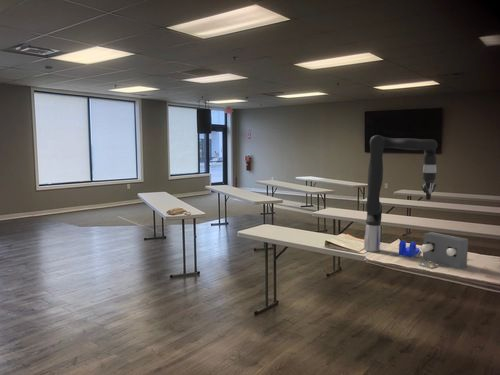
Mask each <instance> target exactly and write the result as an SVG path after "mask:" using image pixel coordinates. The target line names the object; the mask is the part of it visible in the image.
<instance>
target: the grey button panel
mask: <svg viewBox="0 0 500 375" xmlns="http://www.w3.org/2000/svg"><path fill="white" fill-rule="evenodd" d="M429 243H434V244H435V246H434V250H430V251H427V252H423V251H422V260H423V261H425V262H429V261H431V262H430V263H433V262H434V264H437V263H438V265H442V266H445V267H449V268H453V269H457V270H462V269H464V268H467V265H468V250H469V248H468V247H469V239H468V238H464V237H460V236H453V235H448V234H443V233H438V232H432V231H430V232H426V233H423V243H422V245H424V244H429ZM448 248H457V251H456V255H453V256H449V255H448V254H447V252H446V251H447V249H448Z"/></svg>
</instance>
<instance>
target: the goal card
mask: <svg viewBox="0 0 500 375" xmlns="http://www.w3.org/2000/svg"><path fill="white" fill-rule="evenodd" d="M418 266H419V267H423V268H426V267H427V269H430V270H432V269H435V268H438V265H434V264H429V263H427V262H422V263H420V264H418Z"/></svg>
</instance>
